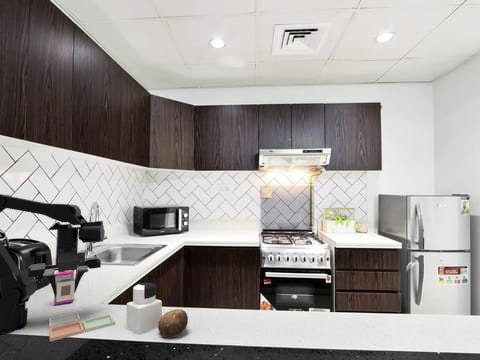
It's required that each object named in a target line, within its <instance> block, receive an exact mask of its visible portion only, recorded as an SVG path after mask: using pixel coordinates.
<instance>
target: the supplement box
mask: <svg viewBox="0 0 480 360" xmlns="http://www.w3.org/2000/svg"><path fill="white" fill-rule="evenodd" d="M69 278H74V279H75V270H73V271H72V270H69V271H64V272H59V271H58V270H57V272H56V273H55V280H56V287H57V280H62V279H69ZM53 295H54V294H53ZM74 300H75V298H74V299H71V300H66V301H60V302H56V297H55V295H54V297H53V304H54V305H53V306H54V307H58V306H61V305H62V306H63V305H69V304H72V303H73V302H74Z"/></svg>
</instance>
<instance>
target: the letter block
mask: <svg viewBox="0 0 480 360" xmlns="http://www.w3.org/2000/svg"><path fill="white" fill-rule="evenodd" d="M56 289H57V295H56V302H60V301H66V300H71V299H74V300H75V293H74V289H75V277H74V278H69V279H62V280H57V287H56Z"/></svg>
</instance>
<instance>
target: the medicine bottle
mask: <svg viewBox="0 0 480 360" xmlns="http://www.w3.org/2000/svg"><path fill="white" fill-rule="evenodd" d="M132 300H133V301H129V302H127V303H126V321H125V323H126V326H125V327H126V329H127V330H129V331H132V332H133V333H135V334H137V335H142V334H144V333H147V332H150V331H151V330H153V329H154V330H155V329H156V328H158V323H159V320H160V318H161V317H162V316H163V308H162V307H163V301H162V299H161V300H160V299H157V298H156V284H155V283H154V282H153V283H152V282H142V283H137V285H134V287H133V288H132Z"/></svg>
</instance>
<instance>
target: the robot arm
mask: <svg viewBox="0 0 480 360" xmlns="http://www.w3.org/2000/svg"><path fill="white" fill-rule="evenodd" d="M6 209H10V210H15V211H21V212H25V213H31V214H32V213H33V214H37V215H41V216H45V217H47V218H50V219H52V220H55V221H57V222H54V224H53V225H52V226H50V227H49V230H50V231H56V246H55V247H56V248H55V249H56V250H55V264H49V265H46V263H45V262H44V263H36V264H35V263H34V264H33V263H32V264H31V265H29V267H28V269H27V270H26V271H25V272H24V271H23V270H21V269H20V268H19V267H18V266H17V264H16V262H15V260H14V259H13V258H12V256H11V254H10V253H9V251H8V249H7V248H6V247H5V246H4V244H3V242H2V241H1V239H0V293H1V297H0V335H4V334H8V333H12V332H15V331H17V330H18V331H20V330H22V329H25V326H26V325H28V314H29V312H28V311H29V309H28V307H26V304H27V303H28V302H29V300H30V298H31V296H33V295H34V294H35V293H36V291H37V288H38V285H37V283H36V282H37V281H38V279H37V278H35V277H40V276H42V278H43V279H47V280H48V282H49V284H50V286H51V290H52V292H53V295H55V297H56V295H57V289H56V280H55V274H56V273H55V271H57V272H58V271H59V272H64V271H69V270H72V271H73V270H74V271H75V273H74V280H75V289H74V294H76V292H77V290H78V287H79V284H80V281H81V279H82V278H83V276H84V274H85V273H88V272H89V270H92V269H98V268H99V269H100V268H101V267H102V265H101V264H102V263H101V262H102V261H101V259H100V258H98V257H96V256H95V257H88V258H86V252H84V251H82V252H78V249H79V243H78V242H79V241H81V242H82V243H83V244H85V243H102V242H104V240H105V235H106V234H105V232H106V231H105V226H104V221H103V220H98V221H87V220H86V218H85V217H84V216H83V215H82V210H81V208H80V207H79V206H78V205H76V204H72V203H71V204H69V203H48V202H43V201H37V200H33V199H32V200H31V199H26V198H21V197H17V196H12V195H9V194H1V193H0V214H1V213H2V212H4V210H6ZM62 223H63V224H62ZM65 223H66V224H65Z"/></svg>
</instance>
